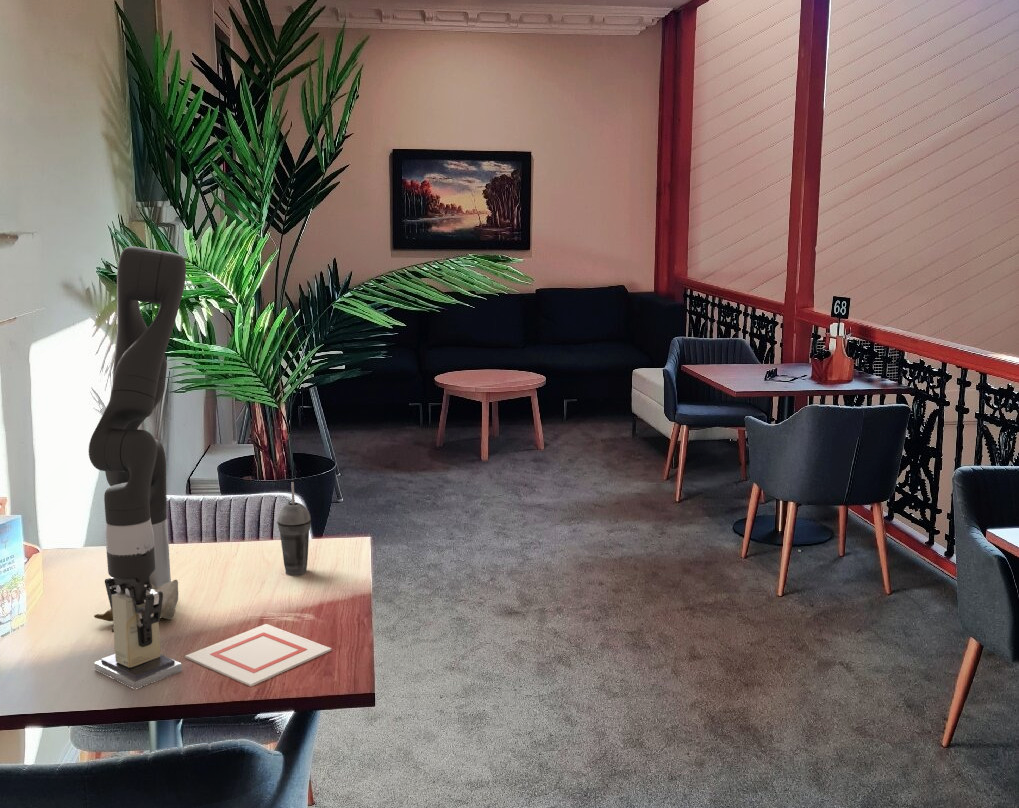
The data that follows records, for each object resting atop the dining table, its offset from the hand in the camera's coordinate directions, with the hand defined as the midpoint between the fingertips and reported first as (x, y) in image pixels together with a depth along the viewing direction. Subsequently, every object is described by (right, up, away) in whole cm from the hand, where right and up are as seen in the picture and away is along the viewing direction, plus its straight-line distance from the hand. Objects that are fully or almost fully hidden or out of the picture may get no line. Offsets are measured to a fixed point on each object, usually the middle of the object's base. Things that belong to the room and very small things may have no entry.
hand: (137, 641), depth 175 cm
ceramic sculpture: (-6, -2, +21) cm, 22 cm away
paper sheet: (+19, -4, +8) cm, 21 cm away
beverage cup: (+17, +4, +49) cm, 52 cm away
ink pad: (0, -5, +1) cm, 5 cm away
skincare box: (0, -3, +1) cm, 4 cm away
